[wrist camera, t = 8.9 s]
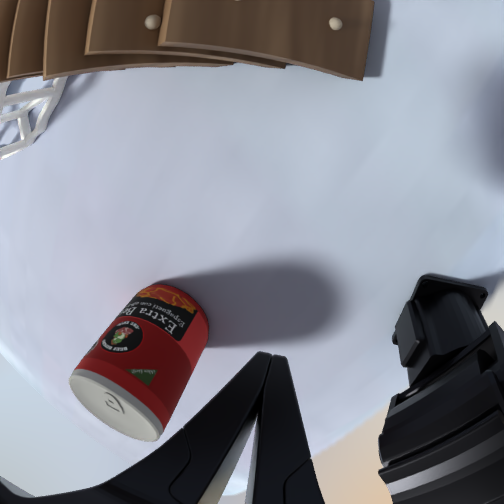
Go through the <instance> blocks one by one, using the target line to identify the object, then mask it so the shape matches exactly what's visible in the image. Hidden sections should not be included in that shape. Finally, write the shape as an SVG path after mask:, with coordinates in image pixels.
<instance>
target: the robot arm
mask: <svg viewBox="0 0 504 504" xmlns="http://www.w3.org/2000/svg"><path fill="white" fill-rule="evenodd" d="M424 282H427V283H426V284H423V283H424ZM482 293H483V294H482ZM481 294H482V295H481ZM487 296H488V292H487V290H486V289H485V288H484V287H479V286H475V285H470V284H465V283H460V282H456V281H451V280H446V279H441V278H436V277H431V276H422V277H420V278H419V280H418V282H417V285H416V287H415V289H414V291H413V294H412V296H411V298H410V300H409V301H407V302H406V304H405V306H404V309H403V311H402V313H401V315H400V317H399V319H398V321H397V323H396V325H395V329H396V330H395V332H394V334H393V336H392V342H393V344H395V345H398V347H399V354H400V361H401V365H402V366H403V367H407V371H408V378H409V386H410V388H408V389H407V390H405V391H404V392H402V393H400V394H399V393H398V394H396V395H395V396H393V397H392V398H391V402H390V406H389V410H388V414H387V417H386V419H385V424H384V427H383V431H382V434H380V435H379V438H378V446H379V456H380V460H381V463H382V465H383V468H382V469H380V470H379V471H378V474H379V476H380V477H381V478H382V480H383V481H384V482H385V484H386V486H387V488H388V490H389V492H390V494H391V498H392V501H393V504H504V331H503V330H502V328H501V327H500V326H499V325H498V324H497V323H496V322H495V321H494V322H493V323H492V324H491V325H490V326H489V328H488V325H487V323H486V321H485V319H484V317H483V315H482V313H481V311H480V309H481V307H482V306H483V304H484V302H485V300H486V298H487ZM257 415H258V416H257ZM256 419H257V421H256ZM255 421H256V427H255V435H254V442H253V450H252V457H251V464H250V471H249V478H248V485H247V492H246V499H245V504H325V502H324V499H323V497H322V494H321V491H320V488H319V485H318V481H317V478H316V474H315V471H314V466H313V462H312V459H310V458H311V454H310V450H309V446H308V442H307V438H306V434H305V429H304V425H303V421H302V417H301V413H300V409H299V405H298V400H297V396H296V392H295V388H294V384H293V380H292V376H291V372H290V368H289V364H288V360H287V358H286V357H285V356H280V355H273V356H272V354H270V353H266V352H261V351H259V352H257V353H256V354H255V355H254V356H253V357H252V358H251V359H250V361H249V362H248V363H247V364H246V365H245V366H244V367H243V368H242V369H241V370H240V371H239V372H238V373H237V374H236V375H235V376H234V377H233V378H232V379H231V380H230V381H229V382H228V383H227V384H226V385H225V386H224V387H223V388H222V389H221V390H220V391H219V392H218V393H217V394H216V395H215V396H214V397H213V398H212V399H211V400H210V401H209V402H208V403H207V404H206V405H205V406H204V407H203V408H202V409H201V410H200V411H199V412H198V413H197V414H196V415H195V416H194V417H193V418H192V419H191V420H190V421H188V422H187V423H186V424H185V425H184V426H183V428H184V429H183V428H181V429H180V430H179V431H178V432H177V433H175V434H174V435H173V436H172V437H171V438H170V439H169V440H167V441H166V442H165V443H164V444H163V445H162V446H160V447H159V448H158V449H156V450H155V451H154V452H152V453H151V454H149V455H148V456H146V457H145V458H144V459H142V460H140V461H139V462H137V463H136V464H134V465H133V466H131V467H129V468H128V469H126V470H125V471H123V472H121V473H120V474H118V475H116V476H115V477H113V478H111V479H110V480H108V481H106V482H104V483H102V484H99V485H96V486H94V487H90V488H86V489H82V490H77V491H72V492H66V493H61V494H55V495H48V496H41V497H35V496H33V495H31V494H29V493H27V492H26V491H24V490H22V489H20V488H19V487H17V486H15V485H14V484H12V483H11V482H9V481H7V480H6V479H4V478H2V477H1V476H0V504H217V503H218V501H219V500H220V497H221V496H222V494H223V491H224V489H225V487H226V485H227V483H228V481H229V479H230V477H231V475H232V473H233V471H234V469H235V466H236V464H237V462H238V460H239V458H240V456H241V454H242V451H243V449H244V447H245V445H246V442H247V440H248V438H249V436H250V433H251V431H252V429H253V427H254V424H255Z"/></svg>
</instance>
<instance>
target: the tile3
mask: <svg viewBox="0 0 504 504" xmlns="http://www.w3.org/2000/svg"><path fill="white" fill-rule="evenodd" d="M91 4H92V0H48V6H47V14H46V24H45V36H44V54H43V81H45V80H50V79H54V78H60V77H65V76H71V75H77V74H83V73H90V72H97V71H105V70H115V69H126V68H140V67H162V66H202V67H220V66H228V65H233V62H232V61H225V60H218V59H210V58H201V57H190V56H178V55H160V54H104V55H87V56H84V49H85V41H86V34H87V27H88V21H89V15H90V10H91Z"/></svg>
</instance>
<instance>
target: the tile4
mask: <svg viewBox="0 0 504 504" xmlns="http://www.w3.org/2000/svg"><path fill="white" fill-rule="evenodd" d="M47 6H48V0H18V2H17V6H16V11H15V15H14V21H13V26H12V32H11V38H10V46H9V54H8V63H7V75H6V79H7V78H12V77H18V76H23V75H29V74H36V73H43V54H44V36H45V24H46V14H47ZM162 67H175V66H162Z"/></svg>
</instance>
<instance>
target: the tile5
mask: <svg viewBox="0 0 504 504" xmlns="http://www.w3.org/2000/svg"><path fill="white" fill-rule="evenodd" d="M17 2H18V0H0V83H3V82H8V81H13V80H18V79H24V78H31V77H37V76H43V73H36V74H29V75H23V76H18V77H12V78H7V79H6V75H7V63H8V54H9V46H10V38H11V32H12V26H13V21H14V15H15V11H16V6H17ZM115 70H125V69H115ZM105 71H113V70H105Z"/></svg>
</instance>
